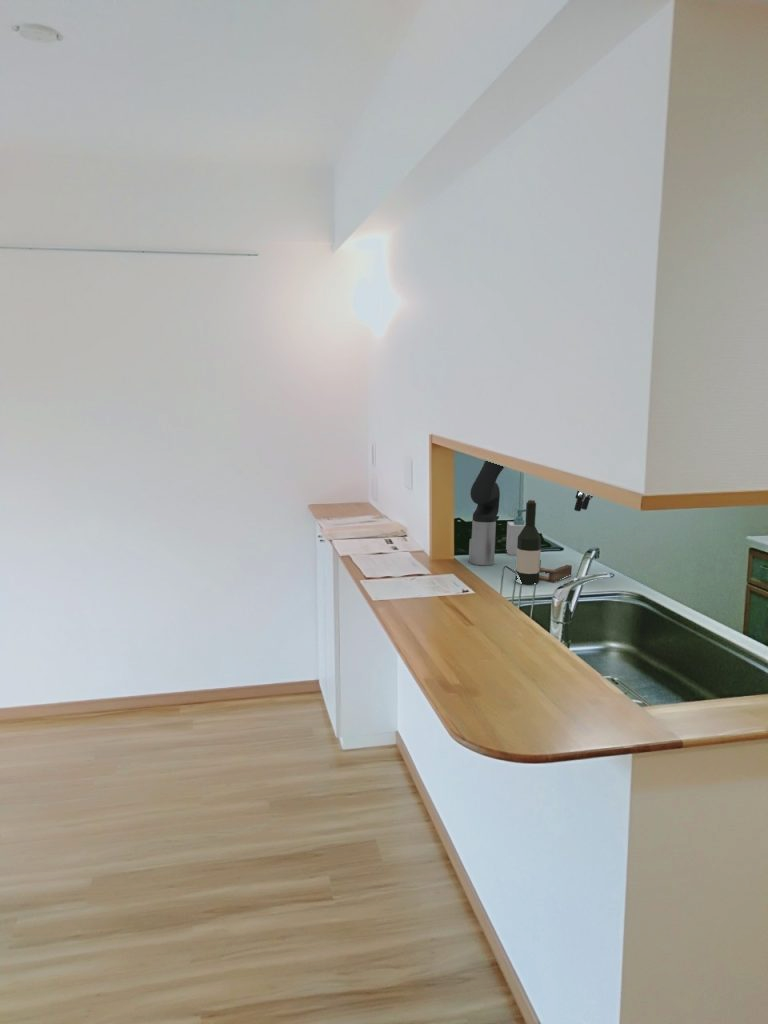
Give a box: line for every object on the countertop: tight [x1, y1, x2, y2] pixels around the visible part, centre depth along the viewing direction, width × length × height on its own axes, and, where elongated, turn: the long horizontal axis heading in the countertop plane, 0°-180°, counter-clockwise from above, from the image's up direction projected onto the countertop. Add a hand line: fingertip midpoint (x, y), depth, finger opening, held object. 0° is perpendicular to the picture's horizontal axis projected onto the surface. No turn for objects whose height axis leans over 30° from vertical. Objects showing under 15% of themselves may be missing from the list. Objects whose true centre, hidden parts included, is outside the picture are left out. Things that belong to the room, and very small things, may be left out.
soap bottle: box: [505, 508, 526, 556], centre depth 332 cm, size 9×9×19 cm
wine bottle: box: [515, 499, 542, 586], centre depth 284 cm, size 8×8×30 cm
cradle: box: [539, 559, 573, 584], centre depth 296 cm, size 15×14×4 cm
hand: (580, 509), depth 287 cm, fingers open, 8 cm apart
